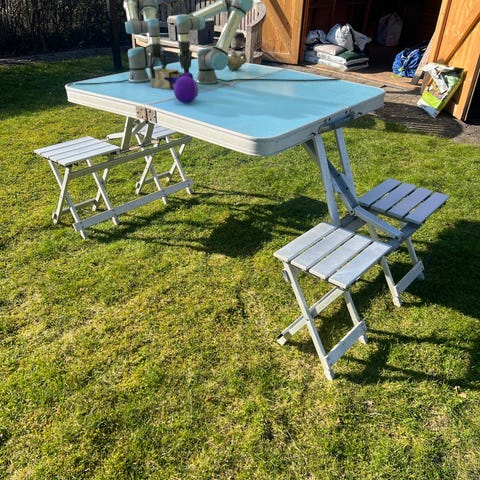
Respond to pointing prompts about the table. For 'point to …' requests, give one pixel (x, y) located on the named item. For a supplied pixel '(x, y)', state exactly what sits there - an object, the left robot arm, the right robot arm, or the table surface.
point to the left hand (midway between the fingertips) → (159, 77)
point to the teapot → (236, 61)
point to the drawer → (176, 75)
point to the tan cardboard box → (162, 78)
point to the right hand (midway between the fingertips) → (187, 78)
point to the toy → (184, 87)
